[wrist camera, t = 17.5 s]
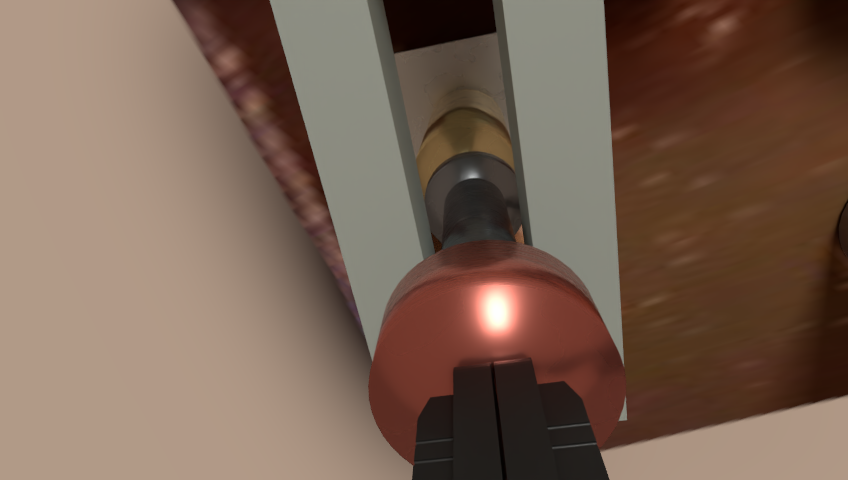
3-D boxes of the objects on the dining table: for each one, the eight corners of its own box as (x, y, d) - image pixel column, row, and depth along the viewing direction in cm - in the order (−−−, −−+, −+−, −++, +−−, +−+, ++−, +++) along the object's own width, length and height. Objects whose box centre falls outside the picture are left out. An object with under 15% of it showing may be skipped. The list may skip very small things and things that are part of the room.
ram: (527, 127, 20) (619, 265, 9) (541, 244, 22) (631, 477, 11) (401, 151, 20) (340, 306, 9) (425, 262, 22) (398, 499, 11)
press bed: (532, 23, 34) (537, 24, 33) (549, 179, 39) (553, 187, 37) (374, 56, 36) (370, 58, 34) (406, 203, 40) (404, 212, 38)
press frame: (491, -129, 31) (593, -529, 8) (529, 182, 39) (636, 418, 16) (364, -97, 32) (146, -378, 9) (425, 200, 40) (387, 446, 17)
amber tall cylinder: (501, 83, 34) (520, 129, 21) (507, 159, 36) (529, 242, 23) (423, 94, 35) (398, 145, 22) (434, 168, 37) (416, 253, 24)
